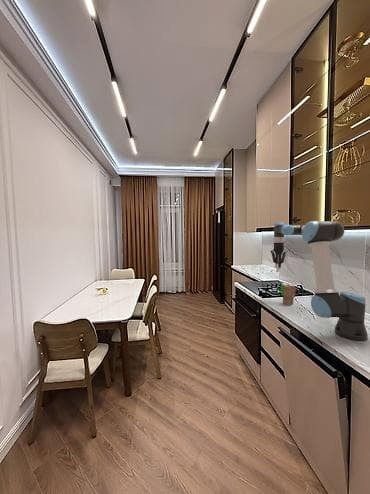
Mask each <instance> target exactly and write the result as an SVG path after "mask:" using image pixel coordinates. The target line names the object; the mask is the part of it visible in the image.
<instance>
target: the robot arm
mask: <svg viewBox="0 0 370 494" xmlns="http://www.w3.org/2000/svg"><path fill="white" fill-rule="evenodd" d="M344 234H345V227H344V225H343V224H342V223H340V222H338V221H335V220H332V221H331V220H330V221H326V220H324V221H323V220H321V221H320V220H314V221H308V222H307V223H305V224H285V223H284V222H275V223H274V225H273V249H272V250H270V254H271V257H272V263H274V266H275V269H276V270H275V272H276V273H280V272H281V268H282V264H284V262H285V258H286V255H287V253H288V251H286V250H285V243H284V242H285V236H301V237H302V239H303V241H304V242H306V243H307V246H308V247H310V248H311V254H312V263H313V269H314V271H313V272H314V279H315V285H316V290H315V291H314V293H313V294H314V295H313V296H312V297H311V300H310V305H311V306H310V307H311V309H312V311H313V313H314V314H315V315H316V316H317V317H319V318H326V319H330V318H338V319H337V322H336V324H335V326H334V333H335V334H336V335H338V336H339V337H342V338H344V339H347V340H352V341H359V342H361V341H366V340H368V336H369V335H368V334H369V333H368V331H367V327H366V325H365V320H366V317H365V316H366V315H365V314H366V305H367V304H366V298H365V296H364V295H361V294H358V293H354V292H349V291H340V293H339V291H338V290H337V289H336V287H335V283H334V282H335V281H334V276H333V275H334V274H333V269H332V262H331V254H330V248H329V246H330V244H331V243H332V242H336V241H338V240H340V239H342V238H343V237H344V236H345V235H344Z"/></svg>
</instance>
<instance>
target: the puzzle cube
mask: <svg viewBox="0 0 370 494" xmlns="http://www.w3.org/2000/svg"><path fill="white" fill-rule="evenodd" d="M286 285H292V286H294V298H295V297H296V284H294V283H292V282H288V283H287V282H280V294H281V296H282V297H283V286H286Z"/></svg>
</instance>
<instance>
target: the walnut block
mask: <svg viewBox="0 0 370 494" xmlns="http://www.w3.org/2000/svg"><path fill="white" fill-rule="evenodd" d="M294 300H295V297H294V286H292V285H286V286H283V296H282V305H283V306H284V305H285V306H287V307H290V306H292V305H294V302H295V301H294Z"/></svg>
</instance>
